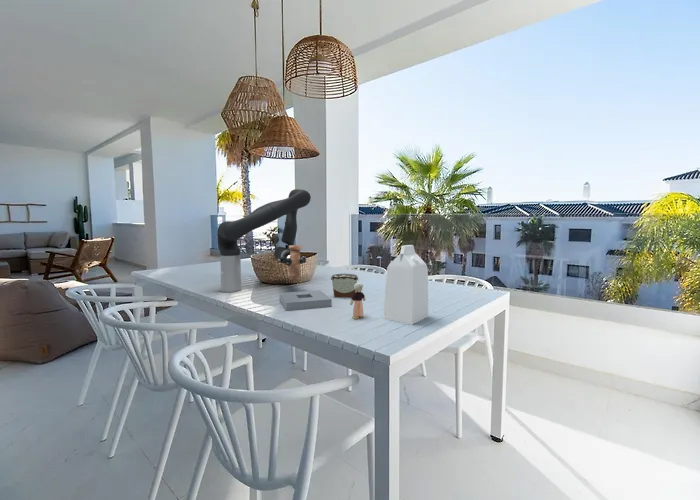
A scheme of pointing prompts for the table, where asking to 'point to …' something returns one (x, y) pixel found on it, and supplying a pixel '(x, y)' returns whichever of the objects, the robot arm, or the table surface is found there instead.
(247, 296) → the table surface
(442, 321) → the table surface
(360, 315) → the grandmother figurine
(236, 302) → the table surface
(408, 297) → the milk
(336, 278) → the food container
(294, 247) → the headed peg
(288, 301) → the socket block
